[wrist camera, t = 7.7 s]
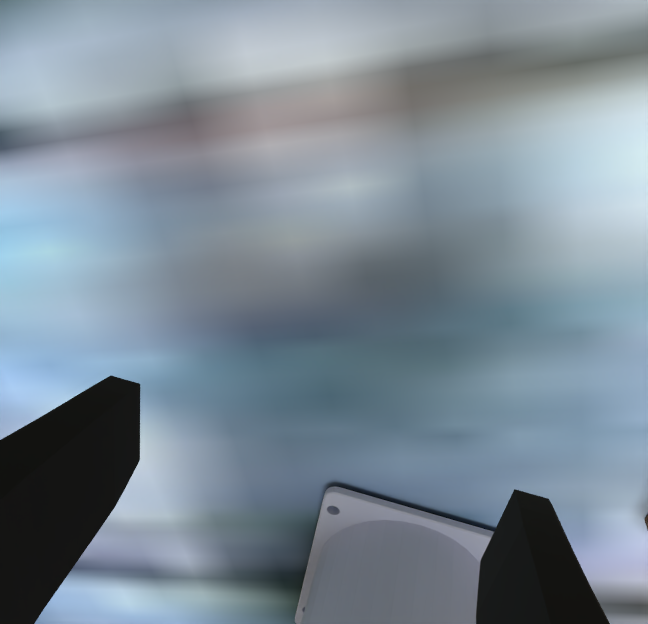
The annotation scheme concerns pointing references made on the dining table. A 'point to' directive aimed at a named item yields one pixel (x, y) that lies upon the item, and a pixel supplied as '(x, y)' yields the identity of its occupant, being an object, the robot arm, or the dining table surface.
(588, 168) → the dining table surface
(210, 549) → the dining table surface
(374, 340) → the dining table surface
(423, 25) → the dining table surface
